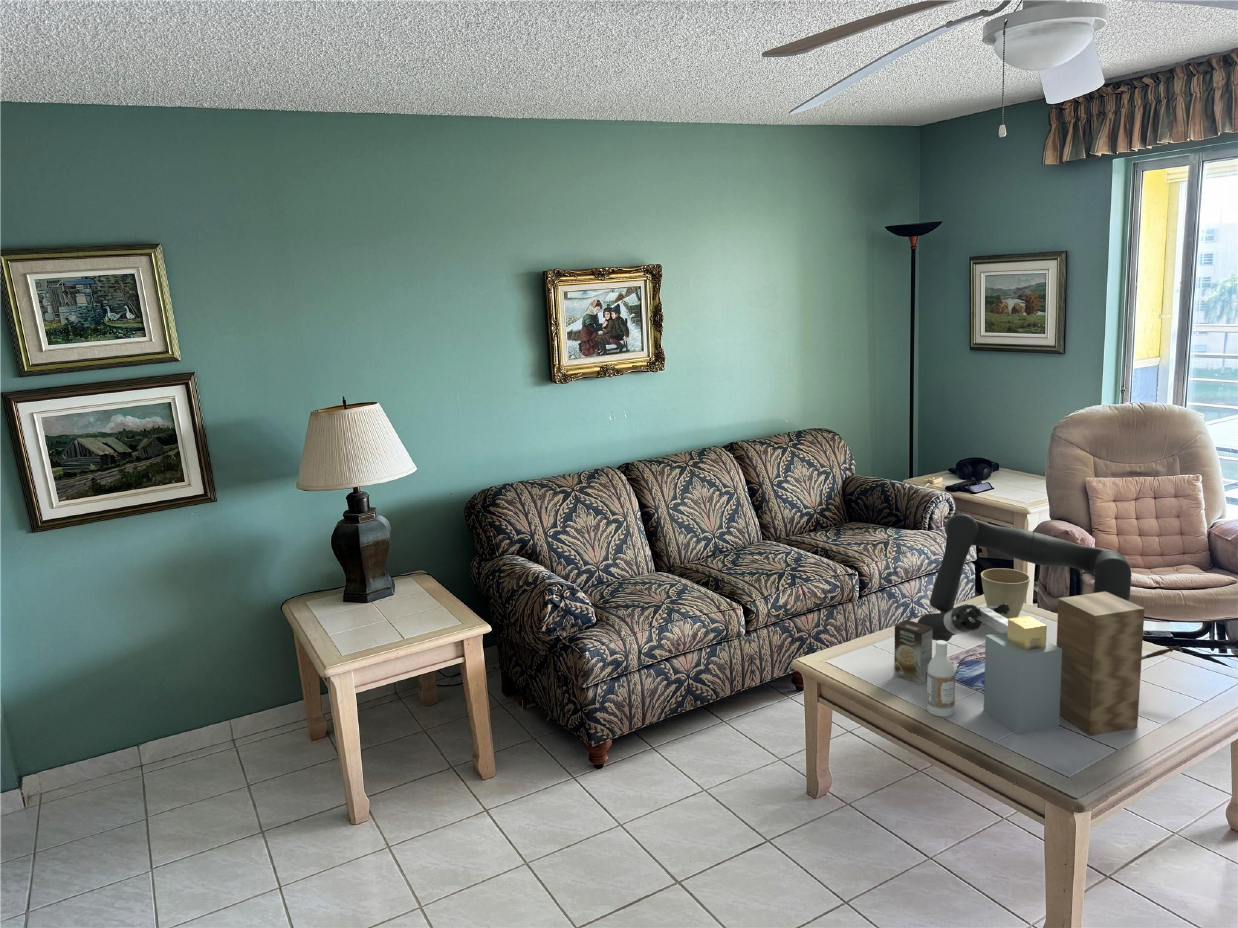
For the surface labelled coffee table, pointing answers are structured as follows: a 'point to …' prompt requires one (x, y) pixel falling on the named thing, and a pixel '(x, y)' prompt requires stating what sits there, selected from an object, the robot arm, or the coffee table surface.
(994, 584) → the plant pot
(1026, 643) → the wood and metal block
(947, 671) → the bath foam
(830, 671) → the coffee table surface
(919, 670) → the coffee box
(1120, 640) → the tall stand
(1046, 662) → the blue gray block
